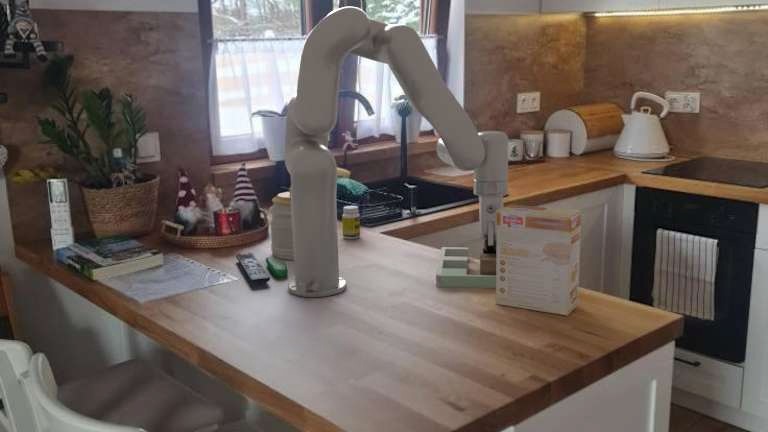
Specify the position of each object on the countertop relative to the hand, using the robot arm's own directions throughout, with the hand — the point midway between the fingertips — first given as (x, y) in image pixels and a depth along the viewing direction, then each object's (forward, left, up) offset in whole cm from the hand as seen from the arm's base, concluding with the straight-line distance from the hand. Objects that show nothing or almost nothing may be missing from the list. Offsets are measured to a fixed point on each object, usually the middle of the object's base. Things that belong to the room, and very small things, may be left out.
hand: (490, 265), depth 173 cm
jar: (+12, +48, -2) cm, 50 cm away
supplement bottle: (+29, +37, -2) cm, 47 cm away
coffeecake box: (-22, -9, -2) cm, 23 cm away
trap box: (0, +3, -1) cm, 3 cm away
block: (-5, 0, -1) cm, 5 cm away
